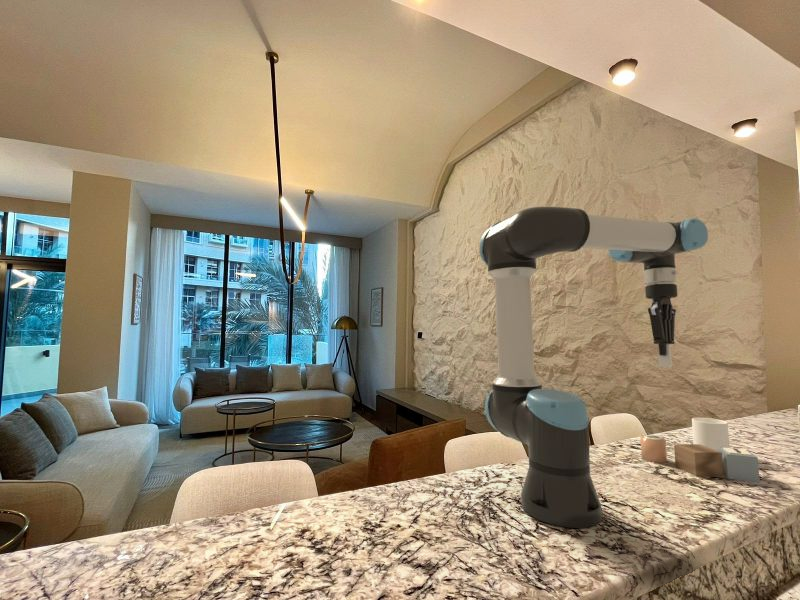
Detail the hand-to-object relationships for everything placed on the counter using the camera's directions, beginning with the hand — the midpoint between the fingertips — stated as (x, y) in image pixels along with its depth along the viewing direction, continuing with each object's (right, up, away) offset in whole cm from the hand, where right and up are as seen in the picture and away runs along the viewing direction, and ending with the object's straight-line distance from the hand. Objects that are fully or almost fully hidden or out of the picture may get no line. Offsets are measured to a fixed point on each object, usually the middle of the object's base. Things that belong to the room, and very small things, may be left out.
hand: (665, 367), depth 106 cm
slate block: (+11, -26, -11) cm, 30 cm away
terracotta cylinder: (-2, -27, +1) cm, 27 cm away
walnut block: (+3, -26, -8) cm, 27 cm away
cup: (+19, -27, +6) cm, 34 cm away
